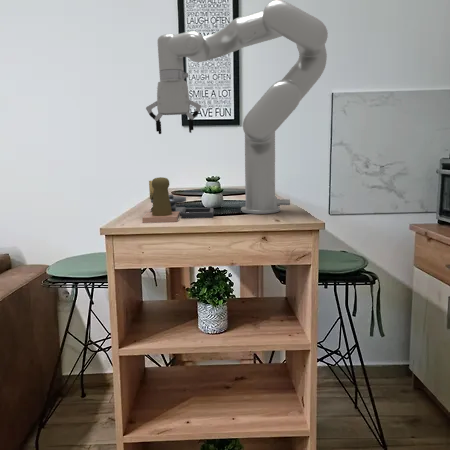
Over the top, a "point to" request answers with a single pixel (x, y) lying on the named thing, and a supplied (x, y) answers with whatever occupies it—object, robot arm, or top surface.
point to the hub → (176, 208)
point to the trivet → (160, 217)
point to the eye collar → (197, 213)
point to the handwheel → (172, 198)
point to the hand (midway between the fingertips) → (175, 133)
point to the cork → (161, 197)
